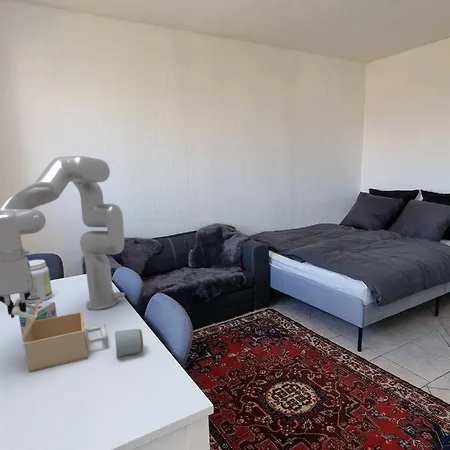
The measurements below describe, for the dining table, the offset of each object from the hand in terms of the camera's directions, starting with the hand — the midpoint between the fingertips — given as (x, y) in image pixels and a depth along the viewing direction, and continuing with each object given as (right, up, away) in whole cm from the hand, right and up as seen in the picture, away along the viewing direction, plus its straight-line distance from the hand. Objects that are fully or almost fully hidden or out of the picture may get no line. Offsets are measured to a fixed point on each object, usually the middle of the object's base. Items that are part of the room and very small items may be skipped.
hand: (18, 314), depth 108 cm
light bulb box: (-3, -12, +19) cm, 23 cm away
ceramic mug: (+32, -13, +6) cm, 35 cm away
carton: (+12, -13, +8) cm, 20 cm away
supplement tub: (-22, -7, +54) cm, 59 cm away
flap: (+3, -2, +2) cm, 4 cm away
